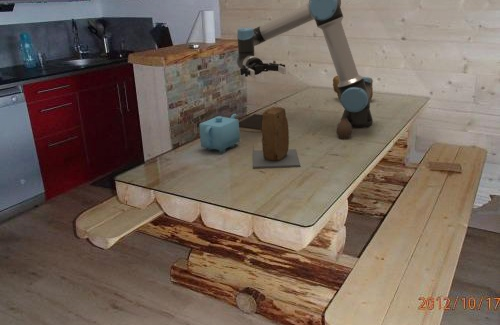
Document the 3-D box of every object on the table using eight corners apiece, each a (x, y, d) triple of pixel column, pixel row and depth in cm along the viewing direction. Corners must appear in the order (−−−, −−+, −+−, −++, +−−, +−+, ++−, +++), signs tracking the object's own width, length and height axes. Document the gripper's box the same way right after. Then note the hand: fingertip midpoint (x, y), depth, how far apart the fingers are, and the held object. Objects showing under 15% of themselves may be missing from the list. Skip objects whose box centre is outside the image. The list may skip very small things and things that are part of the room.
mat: (295, 150, 188) (295, 148, 187) (300, 166, 171) (300, 164, 171) (252, 152, 188) (252, 150, 188) (253, 168, 171) (253, 166, 171)
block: (276, 163, 173) (275, 113, 166) (260, 159, 178) (259, 110, 170) (291, 154, 181) (291, 106, 174) (276, 151, 186) (275, 104, 178)
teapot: (218, 156, 185) (215, 124, 180) (197, 152, 191) (194, 120, 186) (247, 141, 202) (246, 111, 197) (227, 137, 208) (225, 108, 203)
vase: (352, 135, 203) (353, 117, 200) (350, 140, 197) (351, 121, 194) (337, 134, 205) (338, 116, 202) (335, 139, 199) (335, 120, 196)
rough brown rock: (327, 106, 258) (328, 80, 251) (333, 97, 271) (334, 72, 265) (368, 109, 249) (370, 83, 243) (372, 100, 263) (374, 75, 256)
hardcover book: (232, 130, 220) (232, 125, 219) (254, 118, 239) (254, 113, 238) (261, 134, 213) (261, 129, 212) (281, 121, 232) (281, 116, 231)
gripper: (279, 71, 208) (297, 78, 189) (227, 76, 201) (240, 84, 182) (278, 54, 205) (297, 60, 186) (226, 59, 198) (239, 66, 180)
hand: (269, 72), depth 184 cm, fingers open, 13 cm apart
